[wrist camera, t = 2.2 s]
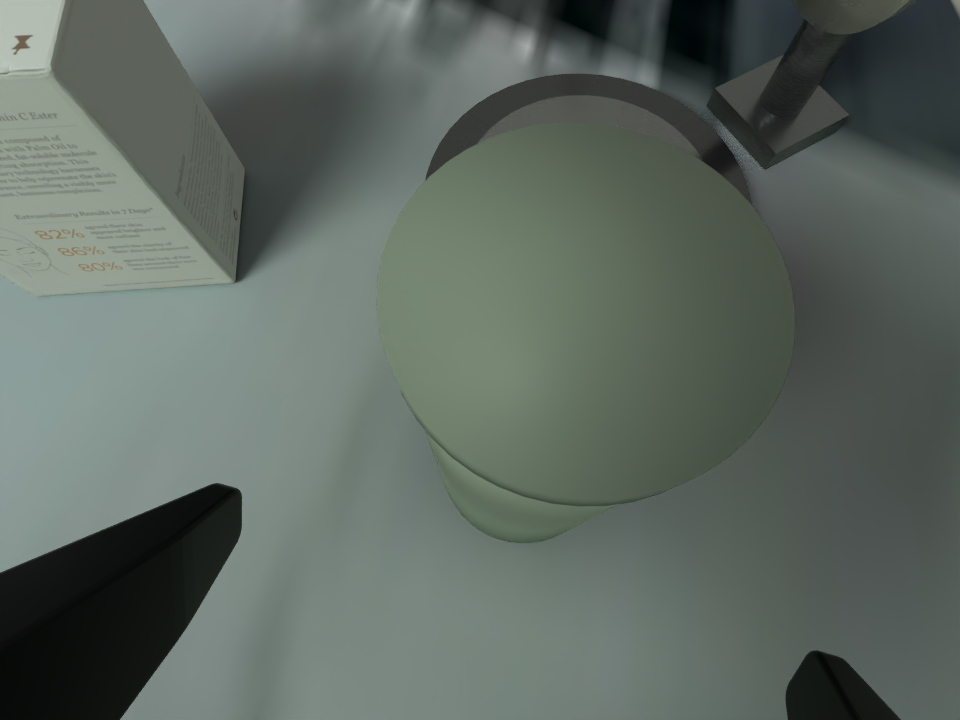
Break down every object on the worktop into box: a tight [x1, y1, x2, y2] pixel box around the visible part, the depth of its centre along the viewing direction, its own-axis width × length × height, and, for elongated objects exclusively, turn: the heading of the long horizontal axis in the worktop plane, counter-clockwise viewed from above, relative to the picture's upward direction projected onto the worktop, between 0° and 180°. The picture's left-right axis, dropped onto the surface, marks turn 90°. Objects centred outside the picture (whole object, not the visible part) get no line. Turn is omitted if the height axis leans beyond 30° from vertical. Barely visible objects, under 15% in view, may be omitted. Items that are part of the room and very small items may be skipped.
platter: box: [425, 74, 752, 205], centre depth 23 cm, size 13×13×1 cm
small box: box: [0, 0, 245, 296], centre depth 19 cm, size 8×6×10 cm
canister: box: [376, 123, 796, 543], centre depth 14 cm, size 6×6×13 cm
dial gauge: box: [707, 0, 918, 169], centre depth 21 cm, size 4×5×10 cm
